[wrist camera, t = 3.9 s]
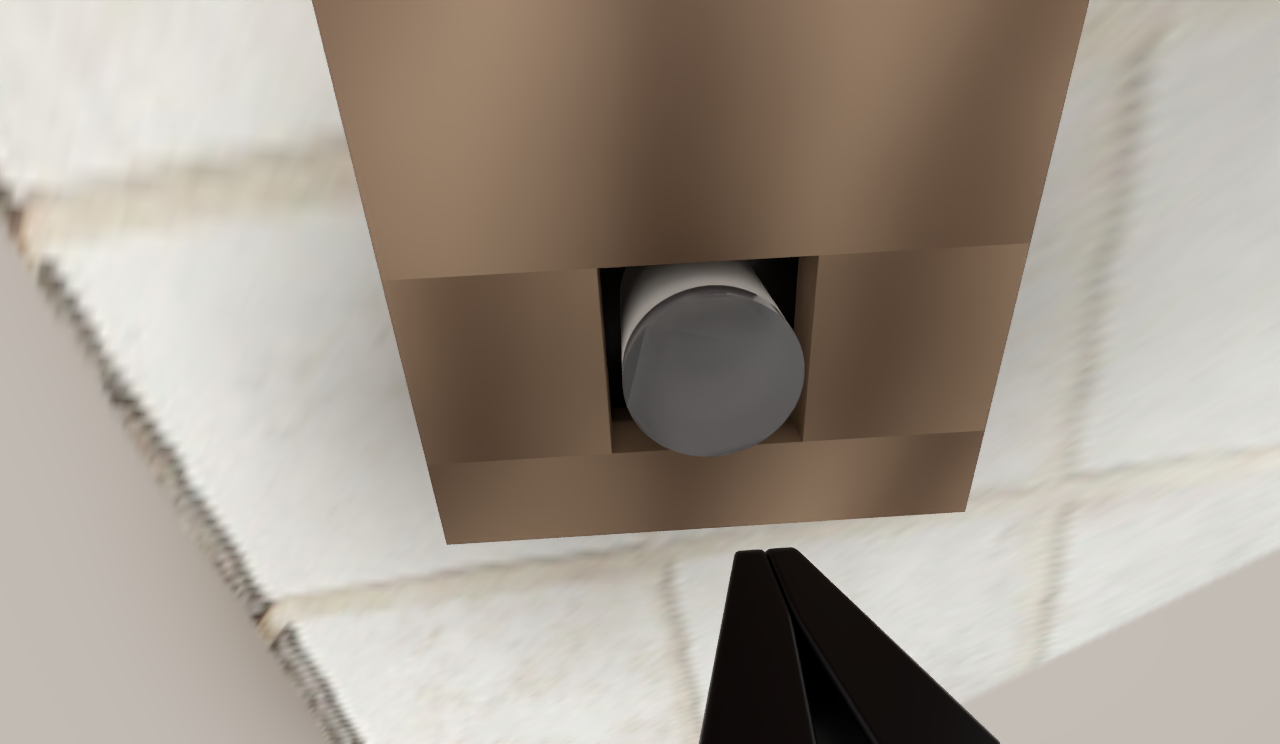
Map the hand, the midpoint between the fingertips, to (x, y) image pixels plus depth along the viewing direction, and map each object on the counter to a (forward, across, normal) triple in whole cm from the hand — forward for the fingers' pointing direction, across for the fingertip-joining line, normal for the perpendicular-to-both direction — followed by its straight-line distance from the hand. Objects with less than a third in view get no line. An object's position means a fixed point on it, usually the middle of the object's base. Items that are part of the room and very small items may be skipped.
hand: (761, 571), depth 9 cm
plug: (+11, 0, 0) cm, 11 cm away
